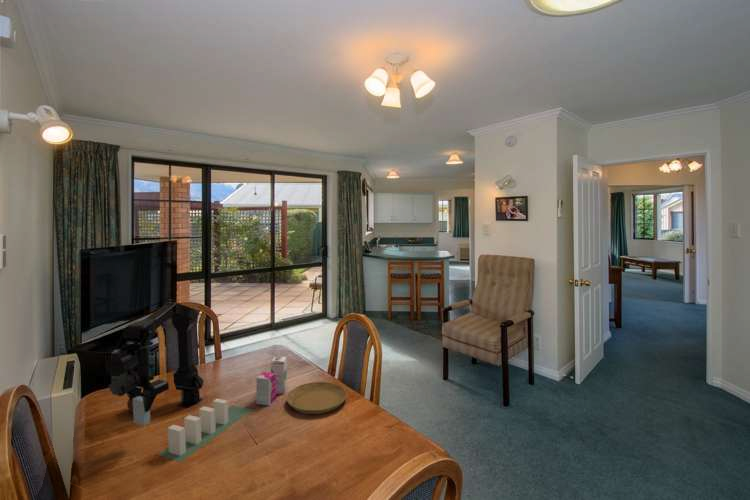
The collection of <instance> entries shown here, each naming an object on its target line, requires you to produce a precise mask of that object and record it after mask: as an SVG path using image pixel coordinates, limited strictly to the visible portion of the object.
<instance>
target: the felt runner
mask: <svg viewBox="0 0 750 500" xmlns="http://www.w3.org/2000/svg"><path fill="white" fill-rule="evenodd" d="M252 411H253V409H251V408H247V407H242V406H238V405H234V404H232V405H230V406H228V423H226V424H225V425H222V424H219V423H215V426H216V431H215V432H214V433H212V434H208V433H204V432H201V439H202V441H201V442H200V443H198V444H197V445H196V444H193V443H189V442H186V452H185V453H184V454H183V455H181V456H179V455H176V454H173V453H170V452H169V446H168V447H166V448H165V449H163V450H162V451H160V452H158V453H157V455H158V456H161V457H164V458H167V459H171V460H174V461H176V462H180V463H182V462H183V461H184V460H186V459H187V458H188V457H189V456H191V455H192V454H194V453H196V452H197V451H198V450H199V449H201V448H202V447H204V446H205V445H207V444H208V443H209V442H210V441H211V440H213V439H214V438H216V437H217V436H219V435H220V434H222V433H223V432H224V431H226V430H227V429H228V428H231V426H233V425H235V424H236V423H238V421H240V420H241V419H242V418H245V416H247V415H248V414H250V412H252Z"/></svg>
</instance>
